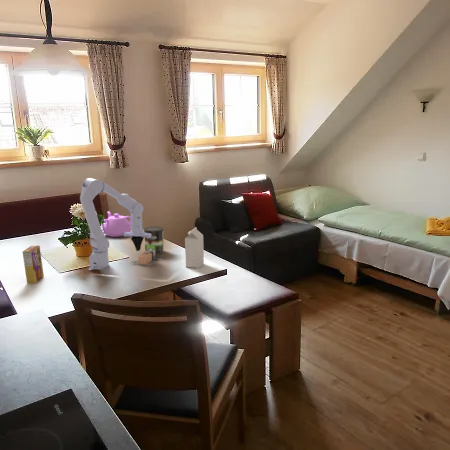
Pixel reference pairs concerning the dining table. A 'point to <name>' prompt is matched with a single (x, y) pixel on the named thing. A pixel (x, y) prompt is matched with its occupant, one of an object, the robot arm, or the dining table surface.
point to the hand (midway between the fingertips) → (138, 250)
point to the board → (149, 262)
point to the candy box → (33, 264)
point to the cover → (145, 258)
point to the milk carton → (194, 249)
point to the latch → (151, 252)
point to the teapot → (116, 225)
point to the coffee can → (154, 239)
